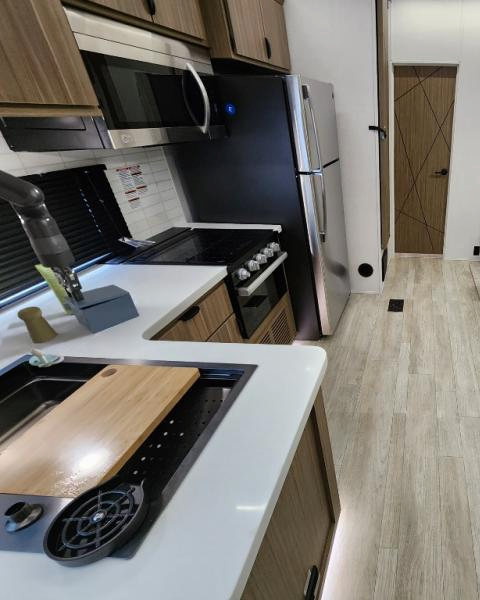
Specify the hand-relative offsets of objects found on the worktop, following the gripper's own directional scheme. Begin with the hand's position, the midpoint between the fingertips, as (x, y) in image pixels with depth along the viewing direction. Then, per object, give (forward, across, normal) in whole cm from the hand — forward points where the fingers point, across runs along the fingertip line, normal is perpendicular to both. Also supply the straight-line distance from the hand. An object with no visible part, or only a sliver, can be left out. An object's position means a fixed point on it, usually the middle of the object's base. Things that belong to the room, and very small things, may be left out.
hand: (76, 298), depth 109 cm
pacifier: (+11, +14, -14) cm, 23 cm away
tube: (+11, -18, +2) cm, 21 cm away
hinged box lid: (+1, 0, +5) cm, 5 cm away
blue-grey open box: (+11, 0, +6) cm, 12 cm away
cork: (+11, -5, -11) cm, 16 cm away
